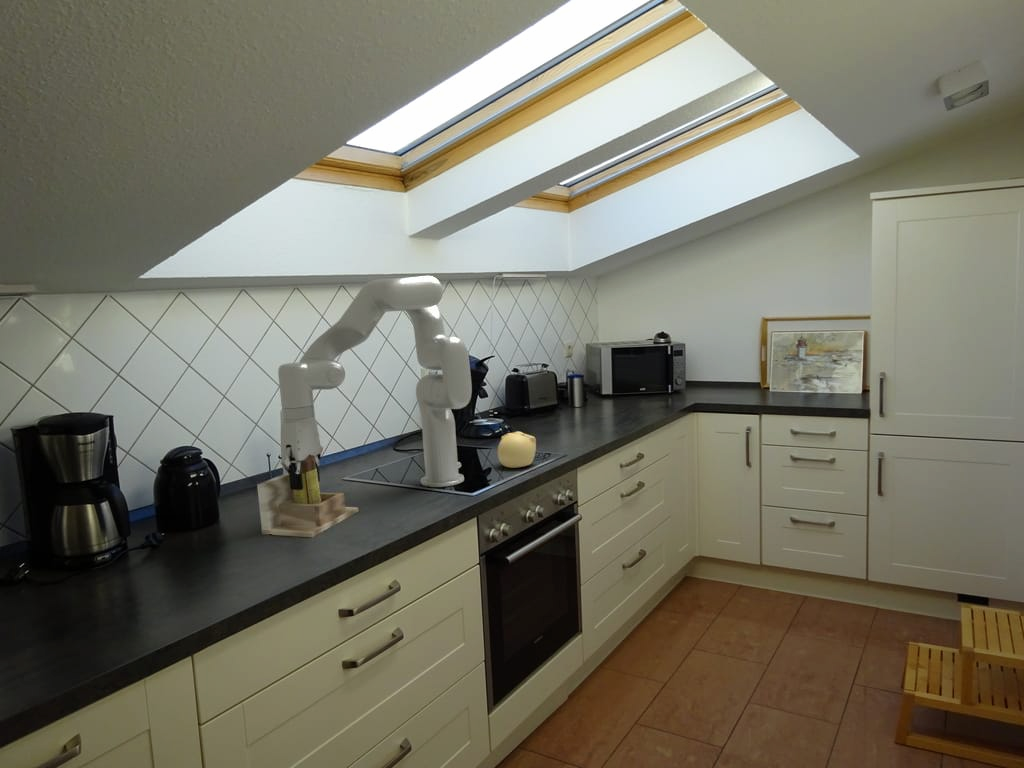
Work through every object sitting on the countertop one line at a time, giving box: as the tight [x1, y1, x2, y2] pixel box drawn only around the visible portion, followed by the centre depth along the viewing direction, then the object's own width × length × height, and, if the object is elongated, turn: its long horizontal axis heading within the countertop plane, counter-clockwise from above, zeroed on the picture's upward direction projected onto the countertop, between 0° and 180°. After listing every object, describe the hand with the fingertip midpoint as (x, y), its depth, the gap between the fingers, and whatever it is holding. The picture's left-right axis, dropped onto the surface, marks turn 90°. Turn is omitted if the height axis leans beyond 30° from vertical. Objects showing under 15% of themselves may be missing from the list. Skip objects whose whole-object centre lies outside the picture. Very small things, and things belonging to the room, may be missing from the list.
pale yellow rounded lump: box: [497, 430, 537, 469], centre depth 221 cm, size 12×12×11 cm
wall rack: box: [256, 472, 359, 538], centre depth 175 cm, size 20×14×12 cm
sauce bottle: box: [293, 455, 321, 504], centre depth 174 cm, size 7×6×20 cm
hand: (305, 485), depth 175 cm, fingers closed on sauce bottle, 6 cm apart
